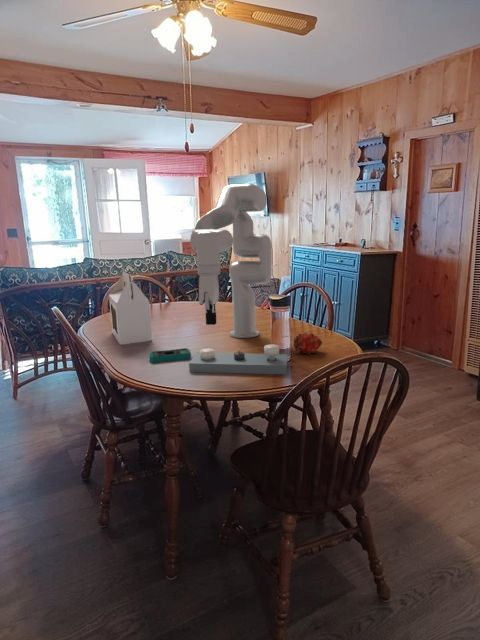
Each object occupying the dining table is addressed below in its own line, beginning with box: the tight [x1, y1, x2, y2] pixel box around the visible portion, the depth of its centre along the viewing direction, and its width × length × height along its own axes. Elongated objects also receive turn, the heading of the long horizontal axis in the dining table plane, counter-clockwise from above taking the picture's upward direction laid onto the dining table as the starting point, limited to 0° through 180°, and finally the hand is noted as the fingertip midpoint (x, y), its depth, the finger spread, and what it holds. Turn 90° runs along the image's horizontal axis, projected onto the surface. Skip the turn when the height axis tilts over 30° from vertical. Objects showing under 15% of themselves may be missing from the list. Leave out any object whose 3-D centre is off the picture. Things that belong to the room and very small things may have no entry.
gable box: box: [108, 270, 153, 346], centre depth 193 cm, size 22×13×28 cm, turn 23°
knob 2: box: [263, 343, 280, 361], centre depth 152 cm, size 5×5×6 cm
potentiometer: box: [233, 348, 245, 360], centre depth 153 cm, size 4×4×3 cm
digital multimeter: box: [148, 347, 192, 364], centre depth 166 cm, size 7×15×3 cm, turn 104°
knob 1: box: [199, 347, 216, 360], centre depth 155 cm, size 5×5×6 cm
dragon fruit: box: [293, 332, 323, 355], centre depth 167 cm, size 8×8×12 cm
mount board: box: [188, 352, 289, 375], centre depth 154 cm, size 12×32×3 cm, turn 82°
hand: (211, 324), depth 152 cm, fingers closed
